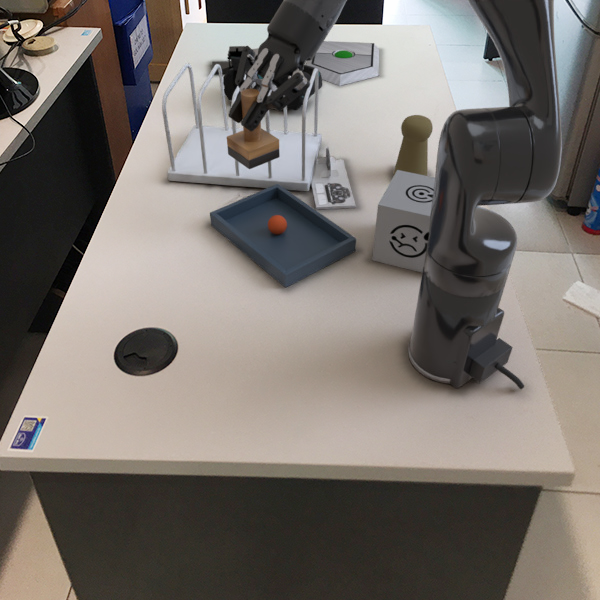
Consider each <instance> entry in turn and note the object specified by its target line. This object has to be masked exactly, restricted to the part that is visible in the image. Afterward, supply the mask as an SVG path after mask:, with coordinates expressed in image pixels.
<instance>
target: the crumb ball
mask: <svg viewBox="0 0 600 600" xmlns="http://www.w3.org/2000/svg"><path fill="white" fill-rule="evenodd" d="M286 228H287V222H286V220H285V218H284V217H282V216H280V215H275V216H273V217H271V218H270V219H269V221H268V229H269V230H270V232H271V233H273V234H276V235H278V234H282V233H283V232H284V231H285V230H286Z"/></svg>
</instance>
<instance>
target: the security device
mask: <svg viewBox="0 0 600 600" xmlns="http://www.w3.org/2000/svg"><path fill="white" fill-rule="evenodd" d="M305 65H307V66H311V67H314V68H317V69H318V71H319V72H320V73H321V77H322V81H325V82H327V83H331V84H333V85H336V86H339V87H341V86H344V85H349V84H352V83H356V82H361V81H365V80H368V79H372V78H377V77H379V76H380V75H379V74H380V72H379V71H380V48H379V47H378V46H377V45H376V44H375V43H374V42H359V41H358V42H357V41H331V40H324V41H323V43H322V44H321V46H320V48H319V49H318V51H317V52H316V54H315V56H314V57H313V59H312V60H310V61H306V63H305Z"/></svg>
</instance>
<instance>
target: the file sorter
mask: <svg viewBox="0 0 600 600" xmlns="http://www.w3.org/2000/svg"><path fill="white" fill-rule="evenodd" d="M217 69H218V72H219V75H218V78H219V88H220V96H221V104H222V114H223V123H224V124H223V125H224V126H214V125H203V115H202V99H203V94H204V93H205V90H206V89H207V88H208V86H209V84H210V83H211V80H212V79H213V77H214V76H215V75H214V74H215V72H216V70H217ZM186 70H188V74H189V82H190V89H191V97H192V106H193V114H194V122H195V123H194V124H195V125H193V126H192V128H191V129H190V131H189V133H188V135H187V136H186V137H185V138H186V139H185V140H184V142H183V143H182V145H181V147H180V149H179V151H178V152H177V154H176V155H175V156H174V151H173V145H172V139H171V138H172V137H171V133H170V132H171V131H170V127H169V126H170V125H169V121H168V120H169V119H168V114H167V101H168V97H169V95H170V93H171V92H172V90H173V89H174V87H176V85H177V83H178V81H179V80H180V79H181V77H182V75H184V73H185V72H186ZM223 76H224V75H222V69H221V66H220V65H219V64H216V65H215V66H214V67H213V69H212V71H211V70H210V73H209V74H208V75H207V78H206V79H205V81H203V84H202V85H201V88H200V89H199V91H198V95H197V97H196V90H195V89H196V88H195V80H194V79H195V78H194V72H193V67H192V65H191V64H190V63H184V64H183V66H182V67H181V69H180V70H179V71H178V73H177V74H176V76H175V77H174V78H173V80H172V81H171V83H170V84H169V85H168V87H167V88H166V89H165V91H164V93H163V96H162V102H161V110H162V112H161V113H162V118H163V125H164V130H165V136H166V143H167V150H168V156H169V160H170V167H168V170H167V172H166V174H167V180H168V182H169V181H170V182H184V183H197V184H207V185H208V184H211V185H222V186H232V187H233V186H235V187H244V188H245V187H248V188H259V189H267V188H269V187H271V186H274V185H276V184H279V185H280V186H282V187H283V188H285V189H286V190H287V191H298V192H299V191H301V192H309V191H310V187H311V180H312V176H313V172H314V168H315V164H316V161H318V158H319V157H318V156H319V153H320V149H321V145H322V142H323V141H322V140H323V139H322V134H321V133H318V121H319V120H318V119H319V118H318V117H319V90H318V69H317V68H315V69H314V70H313V73H312V76H311V79H310V86H309V88H308V89H307V91H306V94H305V97H304V101H303V105H302V109H301V131H288V109H287V106H286V107H285V108H284V109H283V130H274V129H271V124H270V123H271V122H270V110H268V111H267V112H266V114H265V129H264V130H265V131H267V132H268V133H270V134H271V135H273V136H274V137H276V138H278V139H279V155H280V157H279V158H276V159H274V160H271V161H269V162H267V163H264V164H262V165H259V166H257V167H254V168H252V169H248V168H247V167H245V166H244V165H242V164H241V163H240V162H238V161H237V160H235V159H234V158H233V157H231V156H230V155H228V147H227V136H230V135H232V134H235V133H238V132H241V131H243V127H237V122H235V121H234V120H233V119H231V126H229V124H228V112H227V105H226V95H225V94H224V85H223ZM245 79H246V75H245V76H244V80H245ZM314 79H315V93H314V116H313V117H314V119H313V120H314V121H313V132H307V131H306V130H307V129H306V128H307V125H306V124H307V106H308V101H309V99H310V98H309V95H310V91H311V88H312V85H313V82H314ZM255 85H256V84H255V82H254V83H253V84H252V89H253V87H254V86H255ZM273 85H274V84H273ZM274 86H275V85H274ZM239 91H240V89H239V87H238V86H237V88H236V90H235V92H234V94H233V97H232V101H231V106H230V108H231V107H232V105H233V104H234V102H235V100H236V98H237V95H238V93H239ZM270 94H271V92H269V94H268V96H269V95H270ZM283 97H284V96H283ZM308 98H309V99H308Z"/></svg>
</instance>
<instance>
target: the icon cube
mask: <svg viewBox="0 0 600 600" xmlns="http://www.w3.org/2000/svg"><path fill="white" fill-rule="evenodd" d="M434 182H435V176H428V175H427V176H425V175H420V174H415V173H410V172H405V171H400V170H397V171H396V173H395V175H394V176H393V177H392V178H391V180H390V182H389V184H388V185H387V188H386V189H385V191H384V193H383V195H382V196H381V198H380V200H379V202H378V203H377V209H376V221H375V231H374V240H373V250H372V258H371V259H372V260H371V261H373V262H376V263H382V264H385V265H390V266H394V267H398V268H402V269H406V270H409V271H413V272H418V273H421V274H422V272H423V267H424V262H425V256H426V250H427V244H428V238H429V229H430V214H431V205H432V198H433V191H434Z"/></svg>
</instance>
